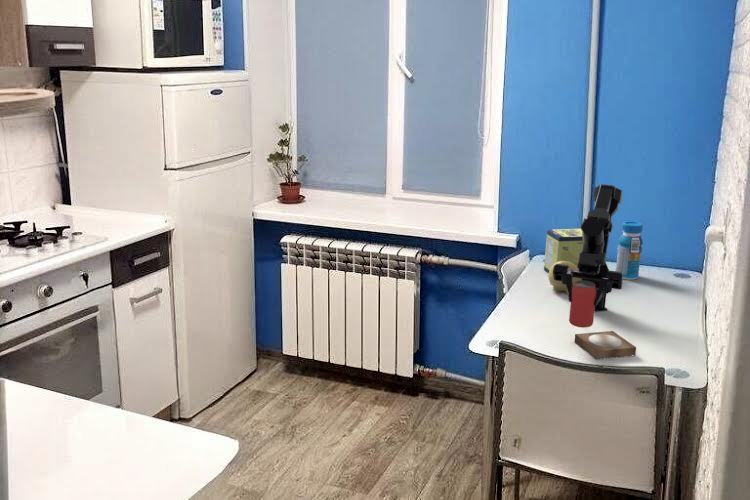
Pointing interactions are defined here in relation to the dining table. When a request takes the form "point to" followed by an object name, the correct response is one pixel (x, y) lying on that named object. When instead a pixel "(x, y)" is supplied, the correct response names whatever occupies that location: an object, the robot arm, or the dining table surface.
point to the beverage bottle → (629, 250)
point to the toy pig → (559, 284)
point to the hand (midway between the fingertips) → (582, 303)
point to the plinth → (605, 345)
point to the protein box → (563, 246)
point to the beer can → (582, 304)
